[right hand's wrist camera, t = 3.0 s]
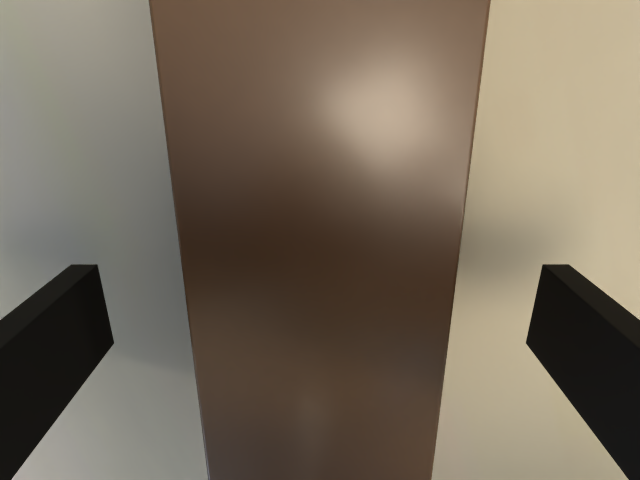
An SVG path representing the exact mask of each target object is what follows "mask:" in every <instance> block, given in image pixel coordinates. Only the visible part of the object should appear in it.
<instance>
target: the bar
mask: <svg viewBox="0 0 640 480" xmlns="http://www.w3.org/2000/svg"><path fill="white" fill-rule="evenodd" d="M490 2H491V0H149V6H150V14H151V22H152V30H153V38H154V46H155V54H156V62H157V70H158V78H159V86H160V94H161V102H162V110H163V118H164V126H165V134H166V142H167V150H168V158H169V166H170V175H171V183H172V191H173V199H174V207H175V215H176V223H177V231H178V239H179V247H180V255H181V263H182V271H183V279H184V287H185V295H186V303H187V311H188V319H189V327H190V335H191V343H192V352H193V360H194V368H195V376H196V384H197V392H198V400H199V408H200V416H201V424H202V432H203V440H204V448H205V456H206V464H207V472H208V480H431V478H432V470H433V462H434V454H435V446H436V437H437V429H438V421H439V413H440V405H441V397H442V389H443V381H444V373H445V365H446V357H447V349H448V341H449V333H450V324H451V316H452V308H453V300H454V292H455V284H456V276H457V268H458V260H459V252H460V244H461V236H462V228H463V220H464V212H465V203H466V195H467V187H468V179H469V171H470V163H471V155H472V147H473V139H474V131H475V123H476V115H477V107H478V99H479V90H480V82H481V74H482V66H483V58H484V50H485V42H486V34H487V26H488V18H489V10H490Z"/></svg>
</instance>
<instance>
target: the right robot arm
mask: <svg viewBox="0 0 640 480" xmlns="http://www.w3.org/2000/svg"><path fill="white" fill-rule="evenodd" d="M113 344H114V340H113V336H112V331H111V326H110V322H109V317H108V312H107V308H106V303H105V298H104V294H103V289H102V284H101V279H100V275H99V270H98V265H70V266H69V267H68V268H66V269H65V270H64V271H62V272H61V273H60V274H59V275H57V276H56V277H55V278H53V279H52V280H51V281H50V282H48V283H47V284H46V285H45V286H43V287H42V288H41V289H39V290H38V291H37V292H36V293H34V294H33V295H32V296H30V297H29V298H28V299H27V300H25V301H24V302H23V303H22V304H20V305H19V306H18V307H16V308H15V309H14V310H13V311H11V312H10V313H9V314H8V315H6V316H5V317H4V318H2V319H1V320H0V480H11V479H12V478H13V476H14V475H15V474H16V472H17V471H18V470H19V468H20V467H21V466H22V465H23V463H24V462H25V461H26V459H27V458H28V457H29V455H30V454H31V453H32V451H33V450H34V449H35V447H36V446H37V445H38V443H39V442H40V441H41V439H42V438H43V437H44V435H45V434H46V433H47V431H48V430H49V429H50V427H51V426H52V425H53V423H54V422H55V421H56V419H57V418H58V417H59V415H60V414H61V413H62V411H63V410H64V409H65V407H66V406H67V405H68V403H69V402H70V401H71V400H72V398H73V397H74V396H75V394H76V393H77V392H78V390H79V389H80V388H81V386H82V385H83V384H84V382H85V381H86V380H87V378H88V377H89V376H90V374H91V373H92V372H93V370H94V369H95V368H96V366H97V365H98V364H99V362H100V361H101V360H102V358H103V357H104V356H105V354H106V353H107V352H108V350H109V349H110V348H111V346H112V345H113ZM526 344H527V345H528V346H529V348H530V349H531V350H532V352H533V353H534V354H535V356H536V357H537V358H538V360H539V361H540V362H541V364H542V365H543V366H544V368H545V369H546V370H547V372H548V373H549V374H550V376H551V377H552V378H553V380H554V381H555V382H556V384H557V385H558V386H559V388H560V389H561V390H562V392H563V393H564V394H565V396H566V397H567V398H568V400H569V401H570V402H571V403H572V405H573V406H574V407H575V409H576V410H577V411H578V413H579V414H580V415H581V417H582V418H583V419H584V421H585V422H586V423H587V425H588V426H589V427H590V429H591V430H592V431H593V433H594V434H595V435H596V437H597V438H598V439H599V441H600V442H601V443H602V445H603V446H604V447H605V449H606V450H607V451H608V453H609V454H610V455H611V457H612V458H613V459H614V461H615V462H616V463H617V465H618V466H619V467H620V469H621V470H622V471H623V472H624V474H625V475H626V476H627V478H628V479H629V480H640V320H639V319H638V318H636V317H635V316H634V315H632V314H631V313H630V312H629V311H627V310H626V309H625V308H624V307H622V306H621V305H620V304H618V303H617V302H616V301H615V300H613V299H612V298H611V297H610V296H608V295H607V294H606V293H604V292H603V291H602V290H601V289H599V288H598V287H597V286H595V285H594V284H593V283H592V282H590V281H589V280H588V279H587V278H585V277H584V276H583V275H581V274H580V273H579V272H578V271H576V270H575V269H574V268H572V267H571V266H570V265H542V270H541V275H540V279H539V284H538V289H537V294H536V298H535V303H534V308H533V312H532V317H531V322H530V326H529V331H528V336H527V340H526Z"/></svg>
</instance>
